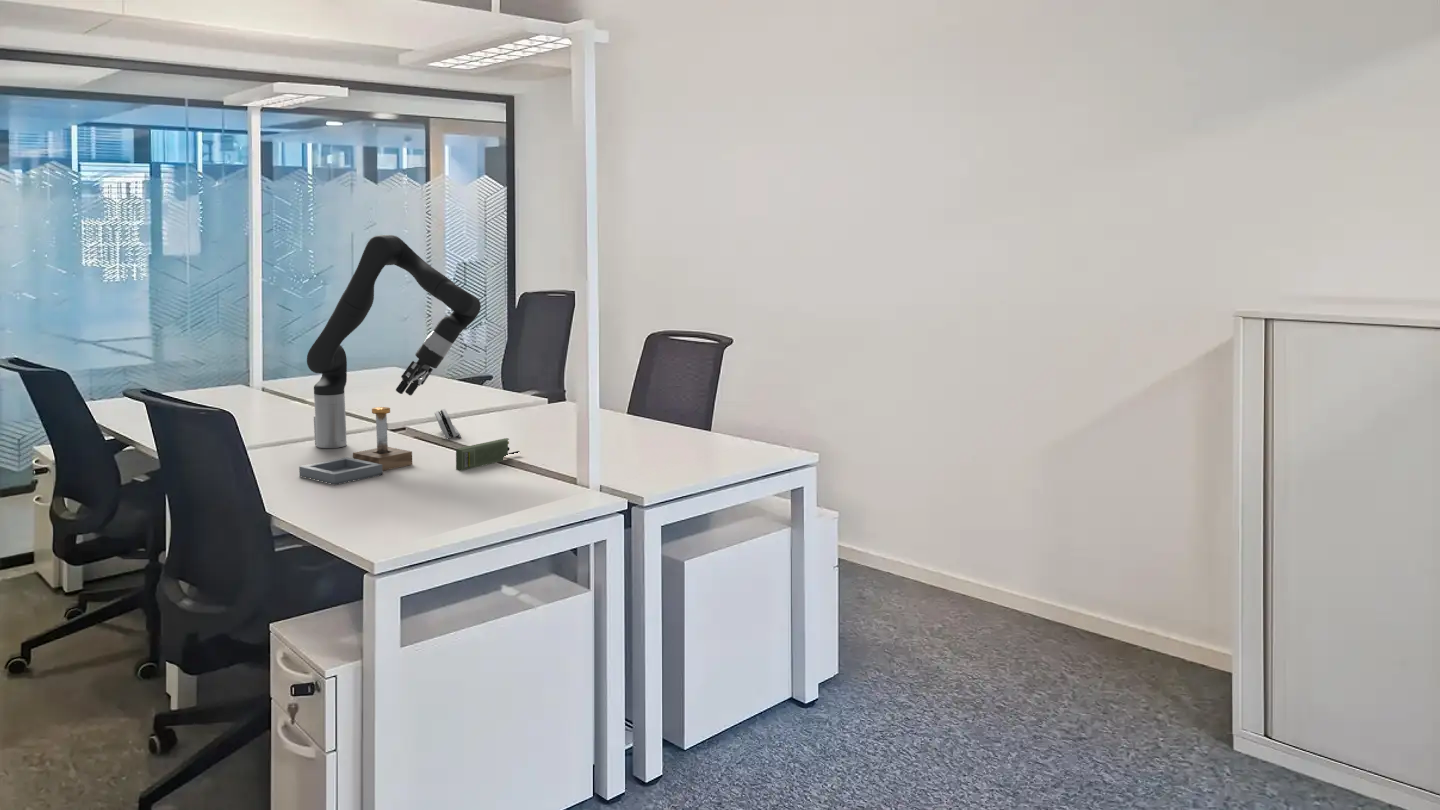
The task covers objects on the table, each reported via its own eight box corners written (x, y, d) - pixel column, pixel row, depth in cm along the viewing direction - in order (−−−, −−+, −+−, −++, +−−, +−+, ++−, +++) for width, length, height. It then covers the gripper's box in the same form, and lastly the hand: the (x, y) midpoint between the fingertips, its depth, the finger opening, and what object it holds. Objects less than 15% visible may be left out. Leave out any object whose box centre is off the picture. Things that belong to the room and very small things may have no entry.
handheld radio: (454, 470, 316) (515, 456, 336) (461, 472, 314) (522, 457, 335) (454, 448, 315) (515, 435, 335) (461, 449, 313) (522, 436, 333)
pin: (370, 465, 319) (368, 408, 316) (384, 462, 323) (382, 406, 320) (381, 467, 316) (379, 410, 313) (395, 464, 320) (393, 408, 318)
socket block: (353, 465, 318) (352, 452, 318) (386, 459, 328) (386, 446, 327) (379, 471, 311) (378, 458, 311) (412, 464, 321) (412, 451, 321)
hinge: (462, 438, 361) (451, 411, 359) (448, 444, 360) (437, 417, 357) (456, 429, 377) (445, 403, 374) (443, 434, 376) (432, 409, 373)
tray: (299, 476, 304) (299, 466, 303) (347, 467, 317) (347, 457, 316) (334, 485, 295) (334, 474, 294) (382, 474, 308) (382, 464, 307)
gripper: (431, 344, 330) (401, 387, 329) (416, 339, 315) (384, 384, 315) (451, 358, 329) (420, 401, 329) (437, 354, 315) (405, 399, 315)
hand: (403, 393), depth 322 cm, fingers open, 8 cm apart
